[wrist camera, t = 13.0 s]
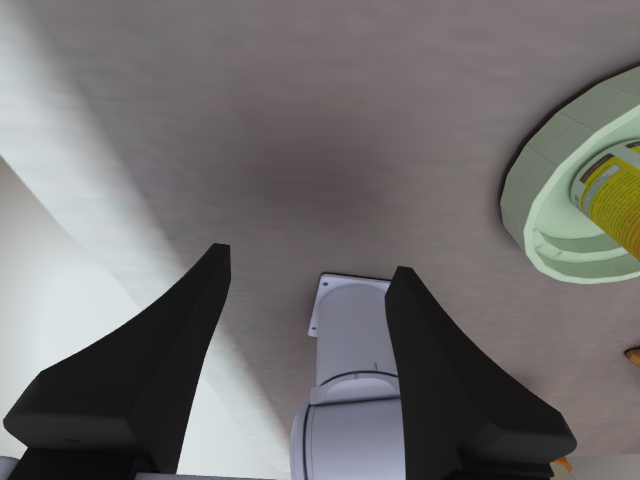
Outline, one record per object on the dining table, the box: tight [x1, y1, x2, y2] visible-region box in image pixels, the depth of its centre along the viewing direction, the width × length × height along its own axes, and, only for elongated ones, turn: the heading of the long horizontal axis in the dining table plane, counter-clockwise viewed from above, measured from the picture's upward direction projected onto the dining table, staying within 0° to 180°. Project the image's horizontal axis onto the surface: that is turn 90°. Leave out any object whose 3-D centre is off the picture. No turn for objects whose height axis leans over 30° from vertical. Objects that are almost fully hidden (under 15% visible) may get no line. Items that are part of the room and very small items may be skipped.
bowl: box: [500, 66, 640, 284], centre depth 20 cm, size 14×14×4 cm
